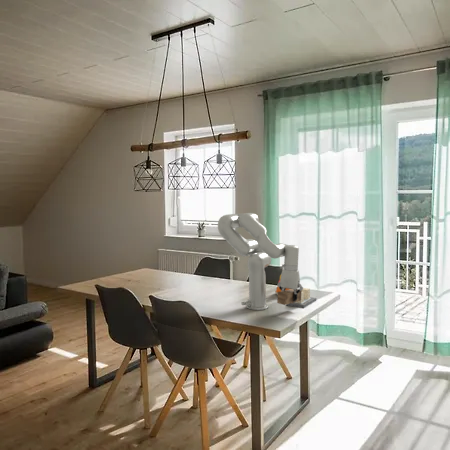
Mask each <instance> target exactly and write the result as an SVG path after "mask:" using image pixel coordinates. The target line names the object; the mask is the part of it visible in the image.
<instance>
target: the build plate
mask: <svg viewBox="0 0 450 450" xmlns="http://www.w3.org/2000/svg"><path fill="white" fill-rule="evenodd" d="M316 301H317V297H312V296H311V288H307V287H303V290H302V292H301V301H297V302H294V303H290V304H286V306H290V307H295V308H296V307H297V308H302V309H303V308H306V307H307V306H309V305H312V303H315V302H316Z"/></svg>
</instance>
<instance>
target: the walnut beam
mask: <svg viewBox="0 0 450 450" xmlns="http://www.w3.org/2000/svg"><path fill="white" fill-rule="evenodd" d="M297 289H298V290H299V289H300V288H297ZM301 292H302V290H301V291H300V292H299V293H298V294H297V300H296V301H293V295H294V290H293V289H289V290H285V291H281V292H278V295H277V301H276V303H277V304H280V305H283V306H285V305H286V304H290V303H294V302H297V301H301ZM286 306H287V305H286Z"/></svg>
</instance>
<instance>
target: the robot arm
mask: <svg viewBox="0 0 450 450" xmlns="http://www.w3.org/2000/svg"><path fill="white" fill-rule="evenodd" d="M238 228H239V229H240V228H243V229H244V230H245V232H247V233H248V234H249V235H250V236H251V237H252V238H247V239H246V238H245V237H243V236H242V234H241V233H240V232H238V231H237V230H235V229H238ZM217 229H218V230H217V231H218V232H219V235H220V236H221V237H222V238H223V239H224V240H225V241H226V242H227V243H228V244H229V245H230V246H231V248H233V249H234V250H235V251H236V253H238V255H240V256H241V257H248V256H249V257H248V258H247V268H248V281H249V282H248V287H249V288H248V291H249V293H248V294H249V295H248V296H249V297H248V299H247V300H246V301H241V306H246V308H247V309H249V310H252V311H264V310H267V309H269V304H267V302H266V301H267V296H266V295H267V291H266V289H267V288H266V287H267V285H266V282H267V280H266V277H267V276H266V271H265V268H267V267H268V266H270V265H271V264H272V259H279V258H282V257H283V258H284V261H283V262H284V263H283V264H281V267H282V268H283V267H284V269H283V270H282V269H281V270H282V271H281V274H280V275H281V280H280V279H279V280H280V282H279V281H278V282H279V283H277V284H276V285H277V286H278V287H279V288H280V290H281V291H285V290H286V288H288V289H293V290H294V295H293V301H296V300H297V294H298V293H299V292H300V291H301V290H303V288H304V287H303V285H302V284H301V279H300V277H301V276H300V270H299V253H300V252H299V251H300V248H299V246H297V245H295V244H286V243H276V244H275V243H274V242H273V241H271V239H270V238H269V237H268V235H267V228H266V227H265V226H264V225H262V223H260V219H259V217H258V215H257V214H256V213H254V212H246V213H245V212H244V213H229V214H224V215H222V216H220V218H219V219H218V221H217ZM253 238H254V239H253ZM298 289H299V290H298Z"/></svg>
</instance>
